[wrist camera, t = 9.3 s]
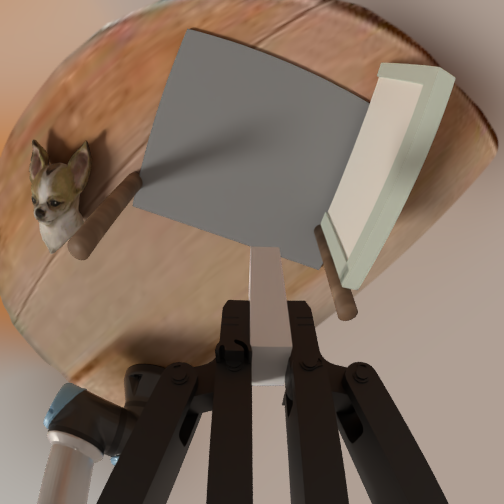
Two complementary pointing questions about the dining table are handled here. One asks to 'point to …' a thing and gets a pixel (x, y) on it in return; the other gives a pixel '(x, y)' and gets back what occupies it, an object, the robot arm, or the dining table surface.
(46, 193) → the ceramic sculpture
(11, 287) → the dining table surface
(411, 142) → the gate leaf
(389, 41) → the dining table surface
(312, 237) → the mat
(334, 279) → the gate posts
